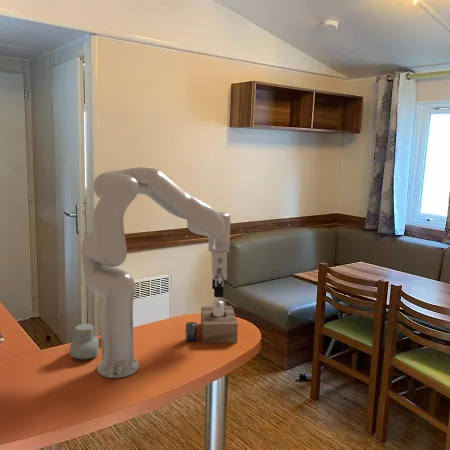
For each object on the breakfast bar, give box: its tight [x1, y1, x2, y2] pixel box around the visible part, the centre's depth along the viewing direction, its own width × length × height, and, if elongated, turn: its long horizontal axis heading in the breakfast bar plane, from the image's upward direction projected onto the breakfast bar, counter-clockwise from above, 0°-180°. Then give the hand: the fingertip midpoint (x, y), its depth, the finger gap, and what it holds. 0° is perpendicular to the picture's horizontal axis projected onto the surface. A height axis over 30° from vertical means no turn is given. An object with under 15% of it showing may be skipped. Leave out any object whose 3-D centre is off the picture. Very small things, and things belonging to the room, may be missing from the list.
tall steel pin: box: [212, 299, 225, 318], centre depth 173 cm, size 4×4×12 cm
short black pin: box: [185, 321, 198, 344], centre depth 167 cm, size 4×4×6 cm
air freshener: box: [69, 323, 100, 360], centre depth 153 cm, size 11×8×10 cm
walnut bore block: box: [200, 305, 238, 344], centre depth 173 cm, size 18×12×7 cm, turn 5°
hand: (217, 292), depth 171 cm, fingers open, 9 cm apart
